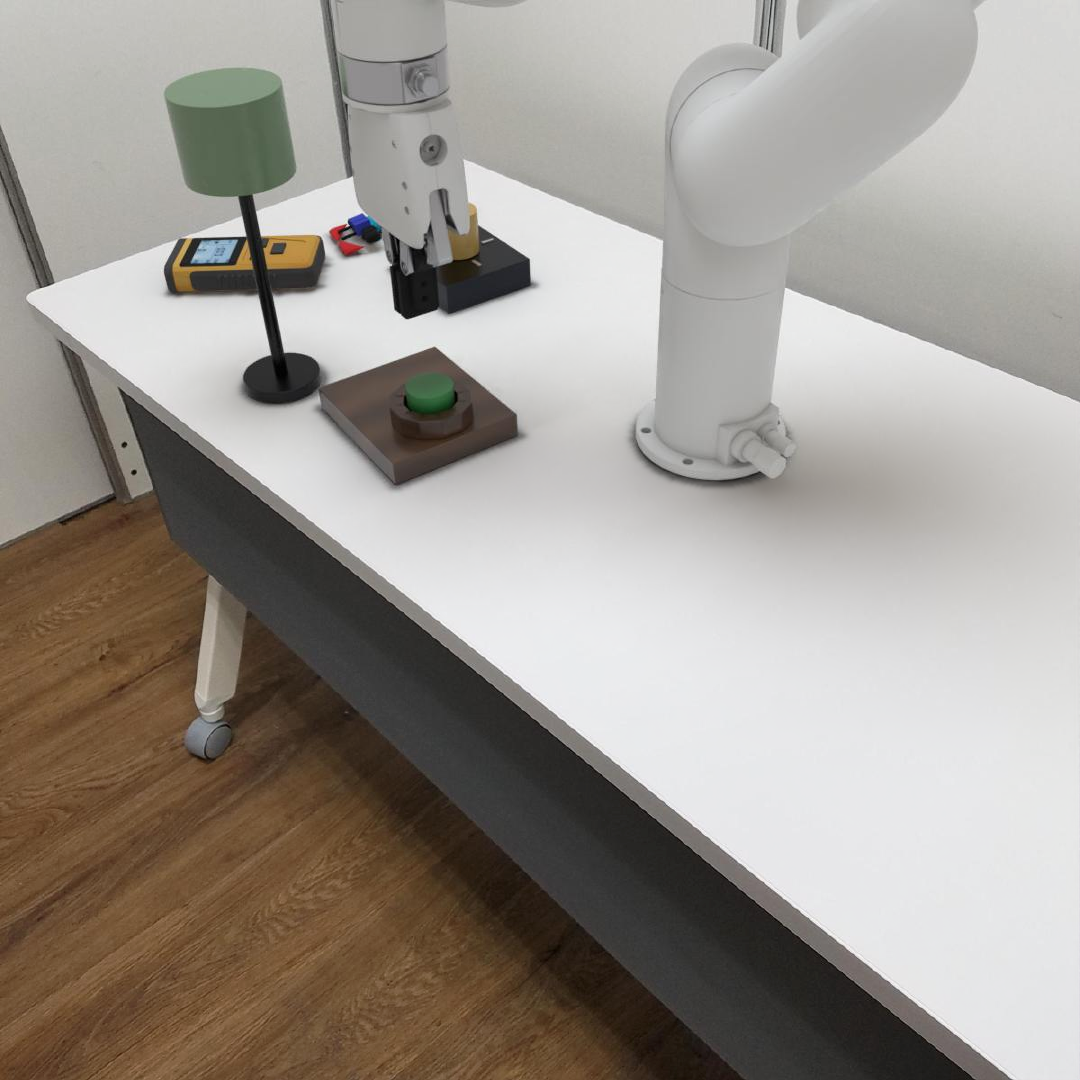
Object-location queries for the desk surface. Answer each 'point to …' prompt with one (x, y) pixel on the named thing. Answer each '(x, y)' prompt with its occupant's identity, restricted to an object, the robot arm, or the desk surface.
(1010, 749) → the desk surface
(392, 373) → the button base
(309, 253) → the electronic device
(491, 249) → the dimmer panel
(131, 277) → the desk surface
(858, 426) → the desk surface
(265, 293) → the lamp
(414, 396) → the switch
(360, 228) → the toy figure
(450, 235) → the knob
